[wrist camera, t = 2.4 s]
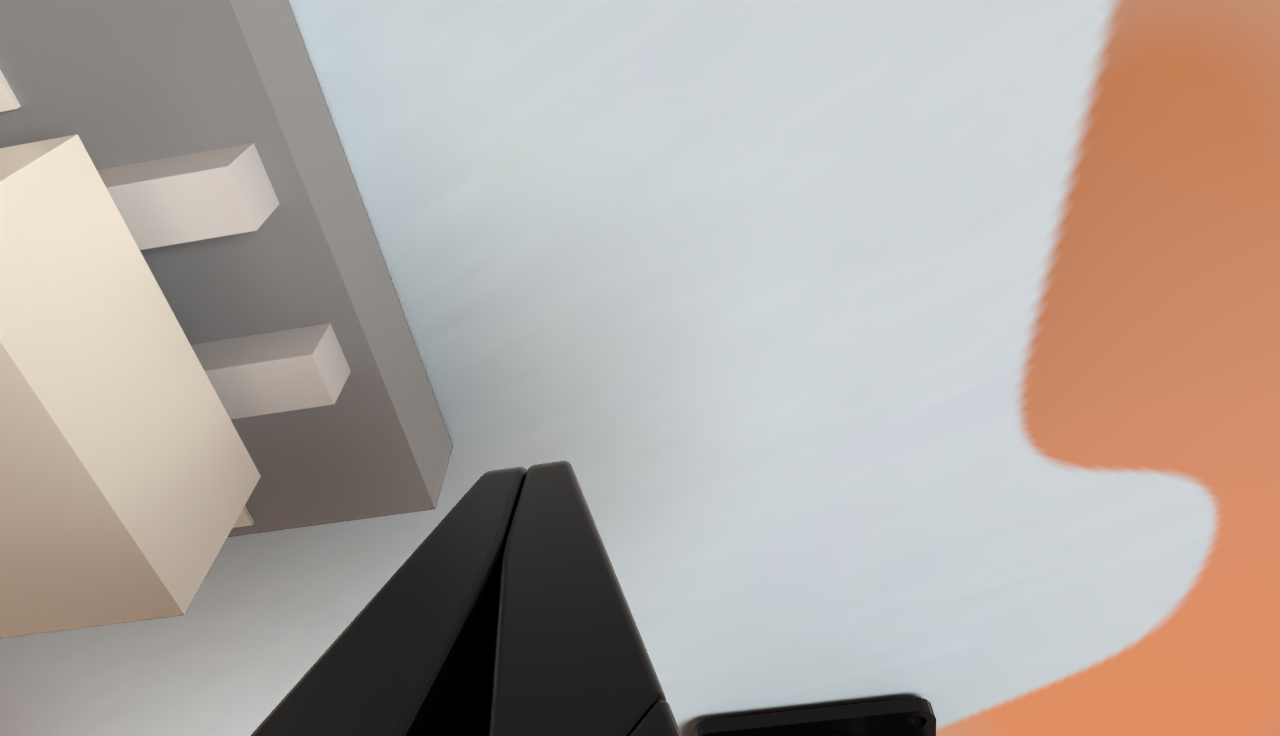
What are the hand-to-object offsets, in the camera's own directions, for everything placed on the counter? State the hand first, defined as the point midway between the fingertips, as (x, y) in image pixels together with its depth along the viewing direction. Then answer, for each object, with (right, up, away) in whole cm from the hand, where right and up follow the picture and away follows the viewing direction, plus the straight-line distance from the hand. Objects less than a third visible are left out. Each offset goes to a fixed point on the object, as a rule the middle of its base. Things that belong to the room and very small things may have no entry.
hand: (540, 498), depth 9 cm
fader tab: (-8, +2, +6) cm, 10 cm away
